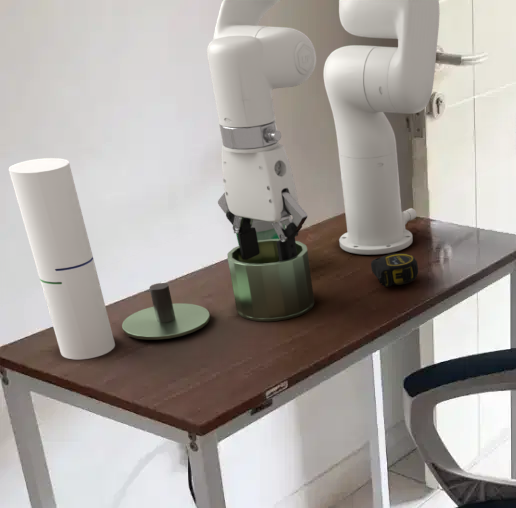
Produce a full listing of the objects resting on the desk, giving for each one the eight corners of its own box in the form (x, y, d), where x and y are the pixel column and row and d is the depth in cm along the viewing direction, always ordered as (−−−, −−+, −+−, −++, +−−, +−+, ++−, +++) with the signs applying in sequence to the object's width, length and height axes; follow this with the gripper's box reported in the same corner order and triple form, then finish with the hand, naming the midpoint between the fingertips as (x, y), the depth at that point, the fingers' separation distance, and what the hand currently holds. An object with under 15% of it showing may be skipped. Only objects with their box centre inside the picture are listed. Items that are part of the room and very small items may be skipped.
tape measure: (371, 278, 160) (369, 255, 158) (413, 272, 161) (411, 249, 159) (380, 292, 154) (378, 269, 152) (423, 286, 156) (421, 263, 154)
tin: (273, 287, 157) (265, 234, 153) (329, 300, 152) (323, 245, 147) (221, 312, 149) (210, 257, 144) (278, 327, 144) (269, 270, 139)
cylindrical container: (114, 355, 137) (67, 169, 124) (59, 362, 136) (5, 175, 122) (115, 335, 143) (70, 155, 130) (62, 342, 141) (11, 161, 128)
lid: (169, 304, 152) (161, 266, 149) (228, 319, 147) (221, 279, 144) (105, 333, 144) (95, 293, 140) (165, 350, 138) (156, 308, 135)
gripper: (316, 135, 136) (332, 262, 146) (223, 123, 144) (244, 244, 154) (279, 148, 131) (298, 279, 140) (184, 135, 138) (208, 260, 148)
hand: (269, 260), depth 147 cm, fingers open, 6 cm apart
